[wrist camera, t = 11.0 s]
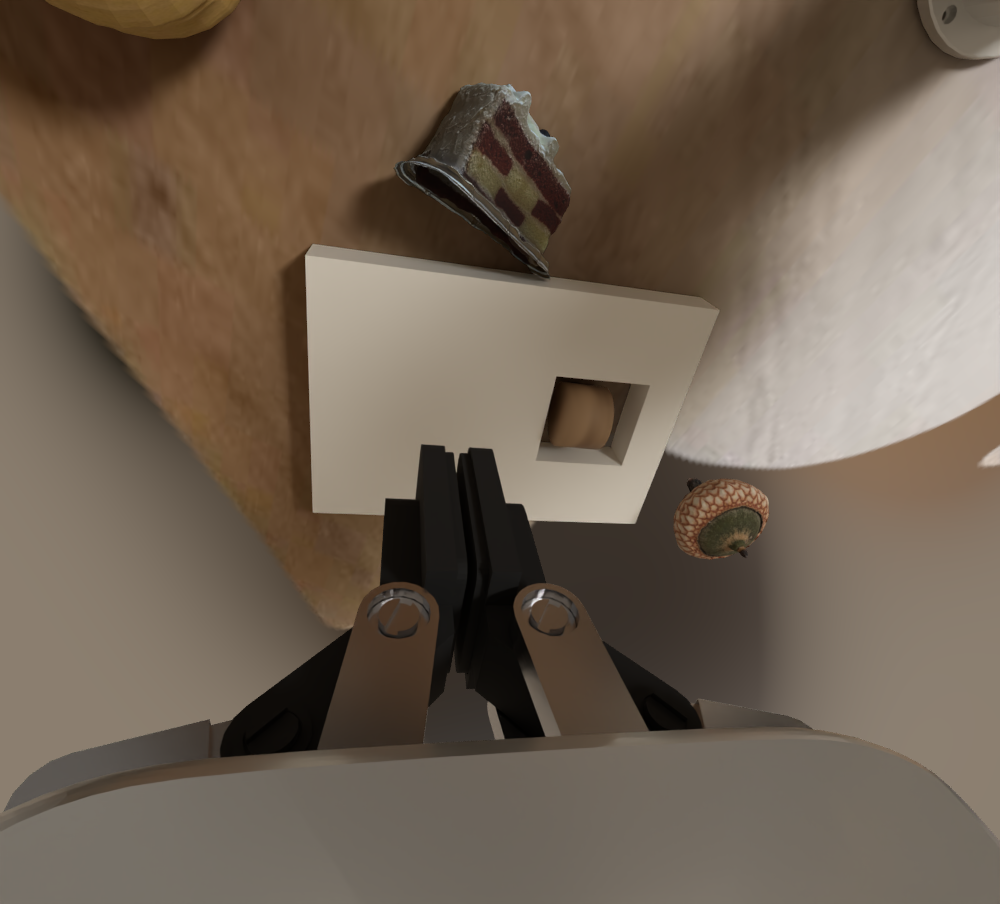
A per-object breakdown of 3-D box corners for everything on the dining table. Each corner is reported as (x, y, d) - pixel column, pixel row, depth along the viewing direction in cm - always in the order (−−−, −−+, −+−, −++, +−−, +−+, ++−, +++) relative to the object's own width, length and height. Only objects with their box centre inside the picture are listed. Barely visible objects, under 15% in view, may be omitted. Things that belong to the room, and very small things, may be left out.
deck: (700, 297, 40) (720, 310, 37) (623, 503, 50) (635, 523, 48) (312, 243, 34) (305, 255, 31) (318, 489, 44) (312, 512, 42)
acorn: (638, 469, 48) (686, 545, 40) (723, 430, 47) (790, 499, 39) (662, 526, 53) (709, 604, 45) (740, 491, 52) (802, 565, 44)
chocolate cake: (610, 194, 35) (573, 59, 24) (555, 287, 36) (495, 199, 25) (499, 146, 38) (420, 6, 27) (450, 233, 39) (354, 132, 28)
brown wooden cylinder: (554, 377, 42) (594, 382, 43) (544, 436, 44) (583, 440, 45) (574, 387, 38) (619, 393, 39) (562, 453, 39) (605, 457, 40)
